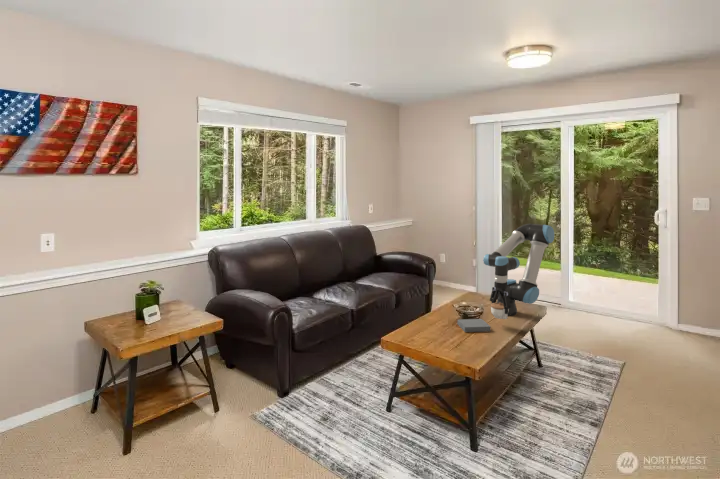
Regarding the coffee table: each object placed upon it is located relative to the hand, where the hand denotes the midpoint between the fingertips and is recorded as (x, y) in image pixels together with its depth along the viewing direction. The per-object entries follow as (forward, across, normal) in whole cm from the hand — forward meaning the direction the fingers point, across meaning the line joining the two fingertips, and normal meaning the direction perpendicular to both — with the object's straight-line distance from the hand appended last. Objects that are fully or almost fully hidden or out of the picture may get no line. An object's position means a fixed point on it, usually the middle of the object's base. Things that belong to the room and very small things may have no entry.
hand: (499, 315), depth 260 cm
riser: (+7, -3, -16) cm, 18 cm away
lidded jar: (+1, 0, 0) cm, 1 cm away
